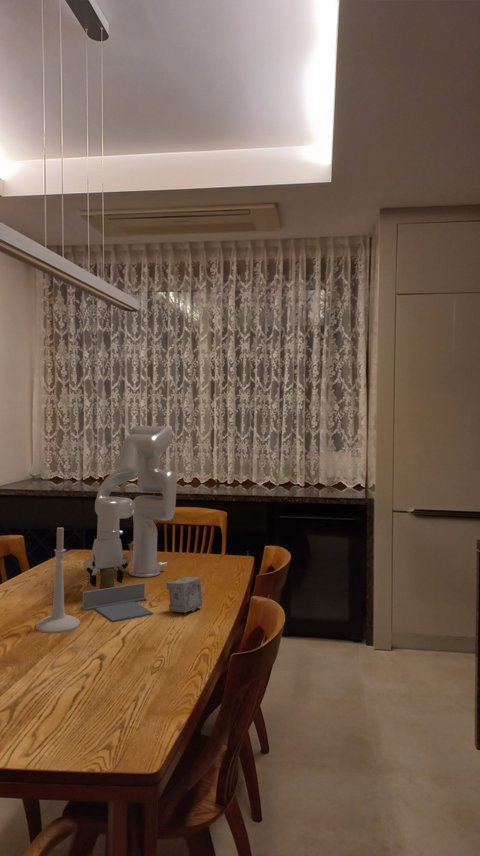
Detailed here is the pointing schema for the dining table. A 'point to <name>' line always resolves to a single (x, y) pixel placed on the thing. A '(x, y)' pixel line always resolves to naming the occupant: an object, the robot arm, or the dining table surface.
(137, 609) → the slate mat
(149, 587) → the dining table surface
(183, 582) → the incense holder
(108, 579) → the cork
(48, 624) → the candlestick
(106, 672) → the dining table surface
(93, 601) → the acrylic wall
